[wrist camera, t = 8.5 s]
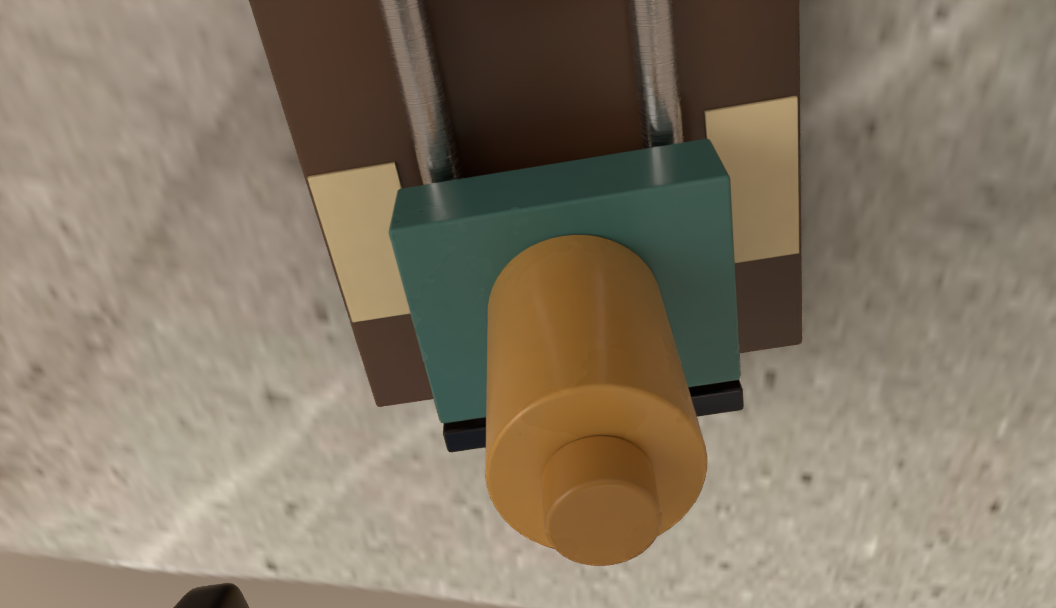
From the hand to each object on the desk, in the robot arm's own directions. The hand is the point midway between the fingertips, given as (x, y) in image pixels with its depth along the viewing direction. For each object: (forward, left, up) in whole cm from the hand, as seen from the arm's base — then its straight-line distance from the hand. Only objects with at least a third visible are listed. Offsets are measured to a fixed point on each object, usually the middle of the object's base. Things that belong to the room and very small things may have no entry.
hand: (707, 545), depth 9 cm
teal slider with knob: (+1, +2, -10) cm, 11 cm away
